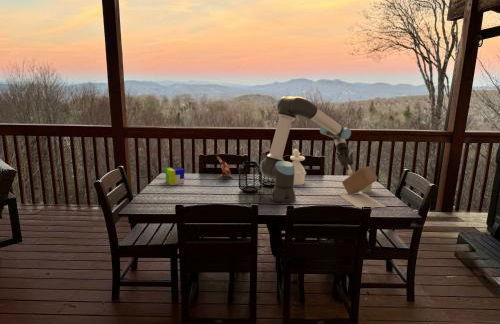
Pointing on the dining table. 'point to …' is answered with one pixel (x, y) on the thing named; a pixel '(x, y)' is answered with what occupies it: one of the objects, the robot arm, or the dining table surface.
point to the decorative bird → (224, 168)
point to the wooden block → (360, 180)
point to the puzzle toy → (174, 175)
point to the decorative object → (298, 168)
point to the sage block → (367, 189)
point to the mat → (362, 201)
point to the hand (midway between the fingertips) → (350, 174)
